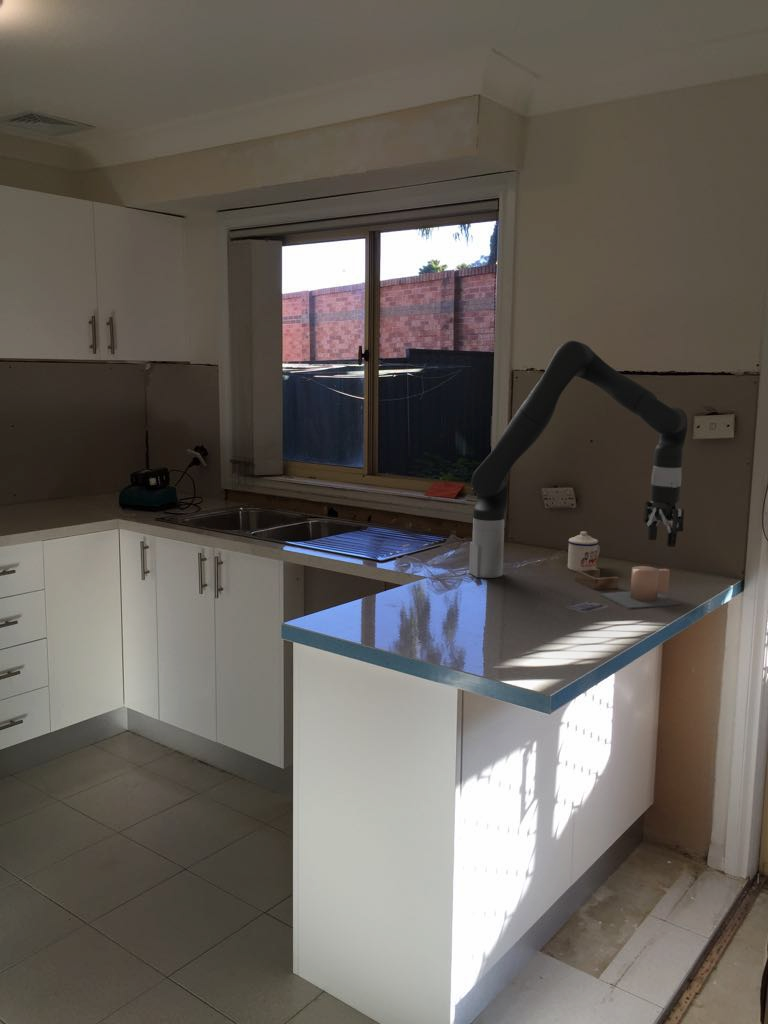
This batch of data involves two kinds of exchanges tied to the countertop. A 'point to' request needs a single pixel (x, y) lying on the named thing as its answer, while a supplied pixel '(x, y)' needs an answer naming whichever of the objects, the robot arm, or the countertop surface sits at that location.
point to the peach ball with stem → (648, 583)
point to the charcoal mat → (629, 603)
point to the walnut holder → (595, 579)
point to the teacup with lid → (582, 552)
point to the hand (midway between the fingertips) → (661, 543)
